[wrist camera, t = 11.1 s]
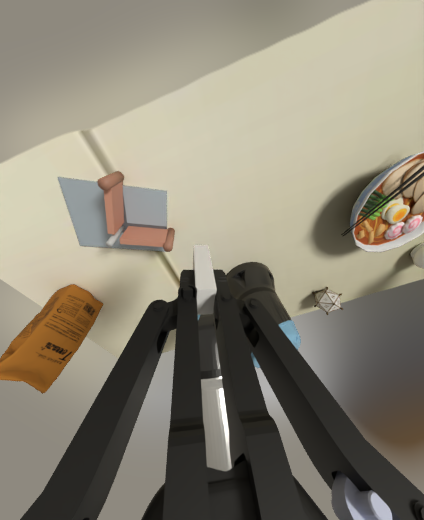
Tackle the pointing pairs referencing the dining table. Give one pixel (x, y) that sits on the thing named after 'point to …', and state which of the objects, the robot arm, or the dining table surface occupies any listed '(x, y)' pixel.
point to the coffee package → (50, 338)
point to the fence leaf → (113, 200)
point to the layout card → (94, 214)
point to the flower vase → (418, 255)
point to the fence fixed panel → (144, 237)
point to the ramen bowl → (390, 207)
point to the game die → (327, 300)
